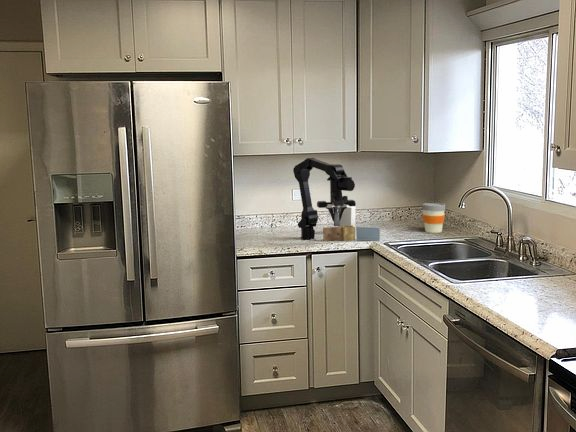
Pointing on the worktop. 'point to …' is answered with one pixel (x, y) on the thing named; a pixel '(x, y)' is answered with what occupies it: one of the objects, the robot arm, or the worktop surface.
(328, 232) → the knuckle leaf
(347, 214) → the skincare box
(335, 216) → the hinge pin
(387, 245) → the worktop surface
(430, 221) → the reusable coffee cup
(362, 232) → the swing leaf
